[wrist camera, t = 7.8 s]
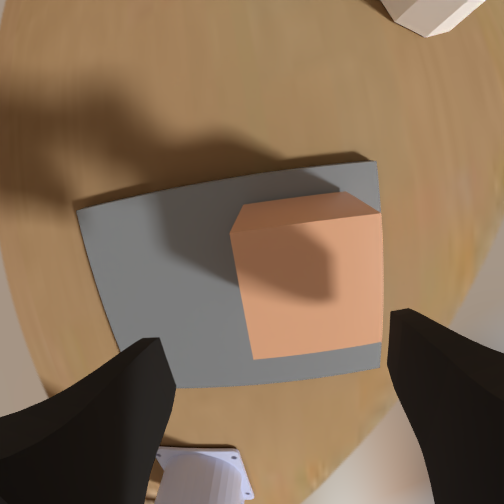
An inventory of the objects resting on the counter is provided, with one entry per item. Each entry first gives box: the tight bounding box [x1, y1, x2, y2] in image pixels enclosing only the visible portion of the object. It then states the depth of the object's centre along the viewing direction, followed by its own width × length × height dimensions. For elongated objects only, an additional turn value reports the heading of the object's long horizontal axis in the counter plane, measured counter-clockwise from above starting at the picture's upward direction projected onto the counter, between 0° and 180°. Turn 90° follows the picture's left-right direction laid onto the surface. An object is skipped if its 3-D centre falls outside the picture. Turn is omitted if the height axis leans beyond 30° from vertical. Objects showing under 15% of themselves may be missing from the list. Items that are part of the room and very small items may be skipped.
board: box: [76, 160, 381, 388], centre depth 19 cm, size 13×17×1 cm
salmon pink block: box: [230, 191, 383, 360], centre depth 14 cm, size 5×5×6 cm
